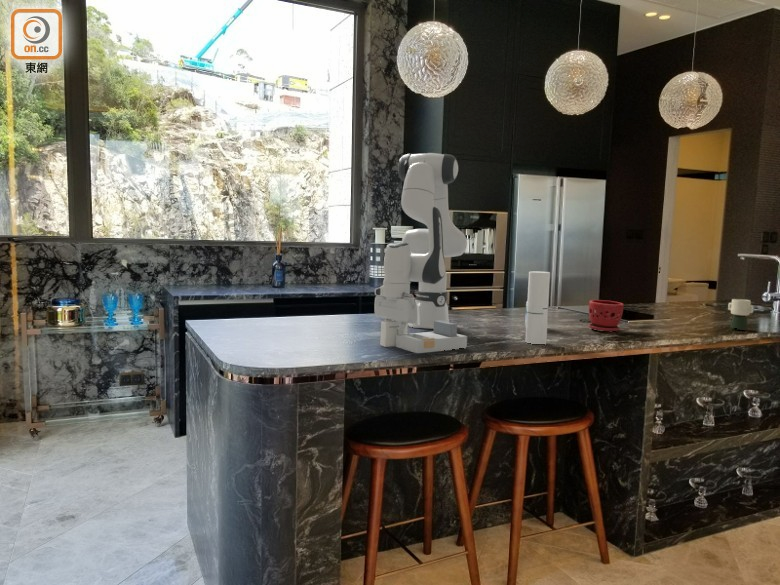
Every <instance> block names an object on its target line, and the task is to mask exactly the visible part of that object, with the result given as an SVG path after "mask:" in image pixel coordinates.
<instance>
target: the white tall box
mask: <svg viewBox="0 0 780 585" xmlns="http://www.w3.org/2000/svg"><path fill="white" fill-rule="evenodd" d="M550 281H551V272H550V271H540V270H539V271H534V270H533V271H528V286H527V319H526V327H525V341H524V342H527V343H531V344H530V345H532V344H545V345H547V338H548V337H547V335H548V317H549V300H550V299H549V298H550ZM527 343H526V344H527Z"/></svg>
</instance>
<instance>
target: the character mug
mask: <svg viewBox="0 0 780 585" xmlns="http://www.w3.org/2000/svg"><path fill="white" fill-rule="evenodd" d="M727 307H728V308H727V310H728V311H730V314H731V315H733V317H732V320H731V323H730V328H731V327H732V328H737V329H736V330H741V329H743V330H748V318H747V316H749V315H750V314H753V313H754V305H752V302H751V300H750V299H743V298H742V299H741V298H731V302H728V305H727ZM732 328H731V329H732Z"/></svg>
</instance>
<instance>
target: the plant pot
mask: <svg viewBox="0 0 780 585" xmlns="http://www.w3.org/2000/svg"><path fill="white" fill-rule="evenodd" d="M623 313H624V303H623V302H621V301H620V302H618V301H614V300H613V301H612V300H604V299H603V300H602V299H591V300H589V302H588V314H589V315H588V316H589V317H588V318H589V320H590V323H589V324H588V328H592V329H596V330H603V331H616V332H617V330H618V331H619V329H620V327H619V324H620V323H621V321H622V317H623ZM612 314H613V315H612ZM592 329H591V330H592Z"/></svg>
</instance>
